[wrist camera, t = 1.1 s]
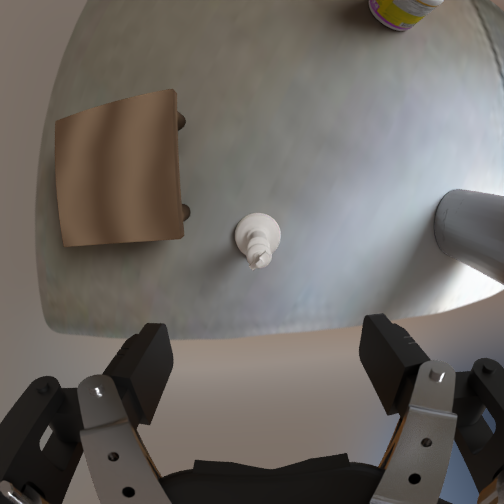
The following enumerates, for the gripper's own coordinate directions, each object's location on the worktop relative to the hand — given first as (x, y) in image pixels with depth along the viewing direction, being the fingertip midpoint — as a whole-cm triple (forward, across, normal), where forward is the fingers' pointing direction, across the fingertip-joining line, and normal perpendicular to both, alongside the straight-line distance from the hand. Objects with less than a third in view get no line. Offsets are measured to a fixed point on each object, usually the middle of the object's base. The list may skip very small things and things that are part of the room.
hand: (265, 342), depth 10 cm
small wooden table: (+20, +13, -8) cm, 25 cm away
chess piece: (+20, 0, 0) cm, 20 cm away
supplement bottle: (+20, -19, -30) cm, 41 cm away
